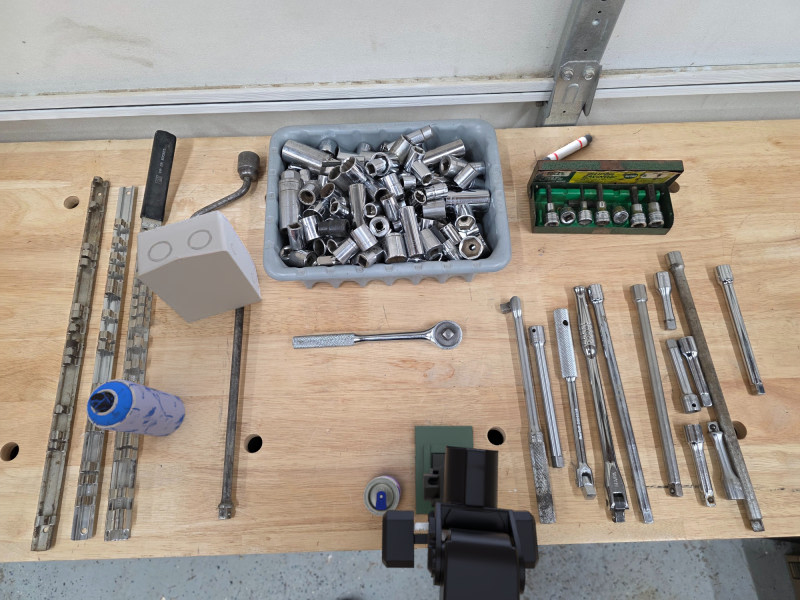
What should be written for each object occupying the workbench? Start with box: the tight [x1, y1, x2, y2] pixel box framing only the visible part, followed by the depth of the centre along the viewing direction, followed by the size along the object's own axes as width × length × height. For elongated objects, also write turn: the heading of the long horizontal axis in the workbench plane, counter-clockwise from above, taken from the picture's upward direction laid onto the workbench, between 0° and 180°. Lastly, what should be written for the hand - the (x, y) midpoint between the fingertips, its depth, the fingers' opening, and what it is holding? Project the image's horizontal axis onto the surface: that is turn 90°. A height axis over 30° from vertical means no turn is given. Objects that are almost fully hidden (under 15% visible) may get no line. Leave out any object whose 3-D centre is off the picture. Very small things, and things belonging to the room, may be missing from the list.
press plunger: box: [432, 454, 445, 469], centre depth 74 cm, size 4×4×2 cm
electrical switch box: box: [136, 210, 263, 324], centre depth 84 cm, size 15×15×20 cm
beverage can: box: [362, 475, 402, 517], centre depth 70 cm, size 5×5×15 cm
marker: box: [533, 133, 593, 169], centre depth 99 cm, size 15×2×2 cm, turn 121°
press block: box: [414, 425, 474, 515], centre depth 76 cm, size 14×10×4 cm
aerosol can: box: [85, 378, 186, 438], centre depth 73 cm, size 8×8×20 cm
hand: (452, 529), depth 63 cm, fingers closed
